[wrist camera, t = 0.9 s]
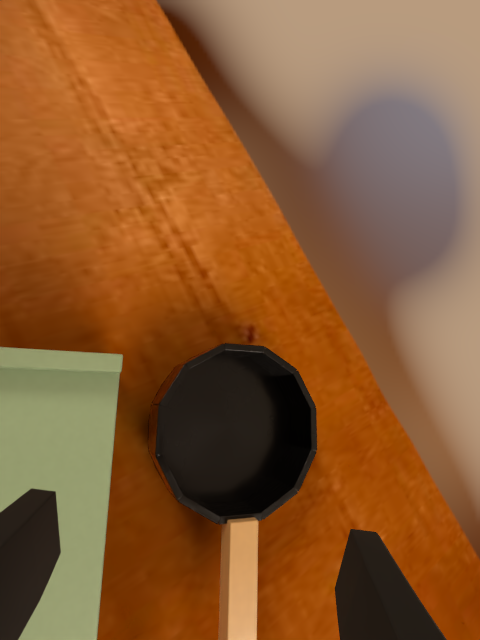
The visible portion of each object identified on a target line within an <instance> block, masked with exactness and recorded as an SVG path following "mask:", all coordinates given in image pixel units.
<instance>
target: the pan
mask: <svg viewBox="0 0 480 640" xmlns="http://www.w3.org/2000/svg"><path fill="white" fill-rule="evenodd" d="M296 370H297V369H296V368H294V367H293V366H291V365H290V364H289V363H287V362H286V361H284V360H283V359H282V358H280V357H279V356H277V355H276V354H275V353H273V352H272V351H270V350H269V349H268V348H266V347H264V346H254V345H241V344H229V343H225V344H221V345H218V346H215V347H213V348H210V349H208V350H206V351H204V352H202V353H200V354H198V355H197V356H194V357H192V358H190V359H189V360H187V361H185V362H183V363H181V364H179V365H177V366H176V367H175V368H174V369H173V371H172V372H171V374H170V375H169V376H168V377H167V378H166V380H165V381H164V383H163V384H162V385H161V387H160V389H159V391H158V392H157V394H156V397H155V398H154V400H153V402H152V405H151V411H150V415H149V423H148V440H149V442H148V449H149V453H150V455H151V457H152V459H153V461H154V464H155V466H156V469H157V470H158V472H159V474H160V475H161V477H162V479H163V481H164V483H165V485H166V487H167V489H168V490H169V491H170V493H171V494H172V495H173V496H174V497H175V498H176V500H177V501H178V502H180V503H181V504H183V505H185V506H187V507H188V508H190V509H192V510H193V511H195V512H197V513H199V514H200V515H202V516H204V517H206V518H207V519H209V520H211V521H213V522H214V523H216V524H222V538H221V571H220V605H219V638H218V640H257V579H258V521H260V520H262V519H265V518H266V517H268V516H269V515H270V514H271V513H273V512H274V511H275V510H276V509H278V508H279V507H280V506H282V505H283V504H284V503H285V502H287V501H288V500H289V499H291V498H292V497H293V496H294V495H296V494H297V491H299V490H300V488H301V485H302V483H303V481H304V479H305V477H306V474H307V472H308V470H309V468H310V465H311V463H312V461H313V459H314V457H315V454H316V450H317V428H316V408H315V407H316V406H315V404H314V402H313V400H312V398H311V396H310V394H309V392H308V390H307V388H306V386H305V384H304V382H303V380H302V378H301V376H300V374H299V372H298V371H296Z"/></svg>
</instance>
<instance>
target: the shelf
mask: <svg viewBox="0 0 480 640" xmlns="http://www.w3.org/2000/svg"><path fill="white" fill-rule="evenodd" d="M122 361H123V355H121V354H108V353H92V352H75V351H59V350H42V349H26V348H9V347H0V512H2V511H3V510H4V509H5V508H7V507H8V506H9V505H10V504H12V503H13V502H14V501H16V500H17V499H18V498H19V497H21V496H22V495H23V494H25V493H26V492H27V491H29V490H30V489H31V488H33V489H40V490H48V491H56V501H57V512H58V524H59V536H60V548H61V554H60V556H59V558H58V561H57V563H56V565H55V568H54V570H53V572H52V575H51V577H50V579H49V581H48V584H47V586H46V588H45V590H44V593H43V595H42V597H41V599H40V601H39V603H38V605H37V607H36V609H35V610H34V612H33V614H32V616H31V618H30V619H29V621H28V623H27V625H26V627H25V628H24V630H23V632H22V634H21V636H20V637H19V639H18V640H97V634H98V622H99V610H100V599H101V587H102V575H103V564H104V552H105V540H106V529H107V517H108V505H109V494H110V482H111V470H112V459H113V447H114V435H115V424H116V412H117V400H118V389H119V377H120V372H121V371H122Z"/></svg>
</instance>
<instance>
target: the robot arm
mask: <svg viewBox="0 0 480 640" xmlns="http://www.w3.org/2000/svg"><path fill="white" fill-rule="evenodd" d="M60 554H61V548H60V536H59V524H58V512H57V501H56V491H48V490H40V489H33V488H31V489H30V490H29V491H27V492H26V493H25V494H23V495H22V496H21V497H19V498H18V499H17V500H16V501H14V502H13V503H12V504H10V505H9V506H8V507H7V508H5V509H4V510H3V511H2V512H0V640H18V639H19V637H20V636H21V634H22V632H23V630H24V628H25V627H26V625H27V623H28V621H29V619H30V618H31V616H32V614H33V612H34V610H35V609H36V607H37V605H38V603H39V601H40V599H41V597H42V595H43V593H44V590H45V588H46V586H47V584H48V581H49V579H50V577H51V575H52V572H53V570H54V568H55V565H56V563H57V561H58V558H59V556H60ZM335 595H336V605H337V616H338V625H339V634H340V640H446V638H445V637H444V635H443V634H442V632H441V631H440V629H439V628H438V626H437V625H436V623H435V622H434V621H433V619H432V618H431V616H430V615H429V613H428V612H427V610H426V609H425V607H424V606H423V604H422V603H421V601H420V600H419V598H418V597H417V595H416V594H415V592H414V590H413V589H412V587H411V586H410V584H409V583H408V581H407V580H406V578H405V576H404V575H403V573H402V572H401V570H400V568H399V567H398V565H397V564H396V562H395V560H394V559H393V557H392V556H391V554H390V552H389V551H388V549H387V548H386V546H385V544H384V543H383V541H382V540H381V538H380V536H379V535H378V534H377V533H376V532H371V531H363V530H355V529H351V530H350V534H349V537H348V541H347V545H346V549H345V552H344V556H343V560H342V564H341V567H340V571H339V575H338V579H337V582H336V586H335Z"/></svg>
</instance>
